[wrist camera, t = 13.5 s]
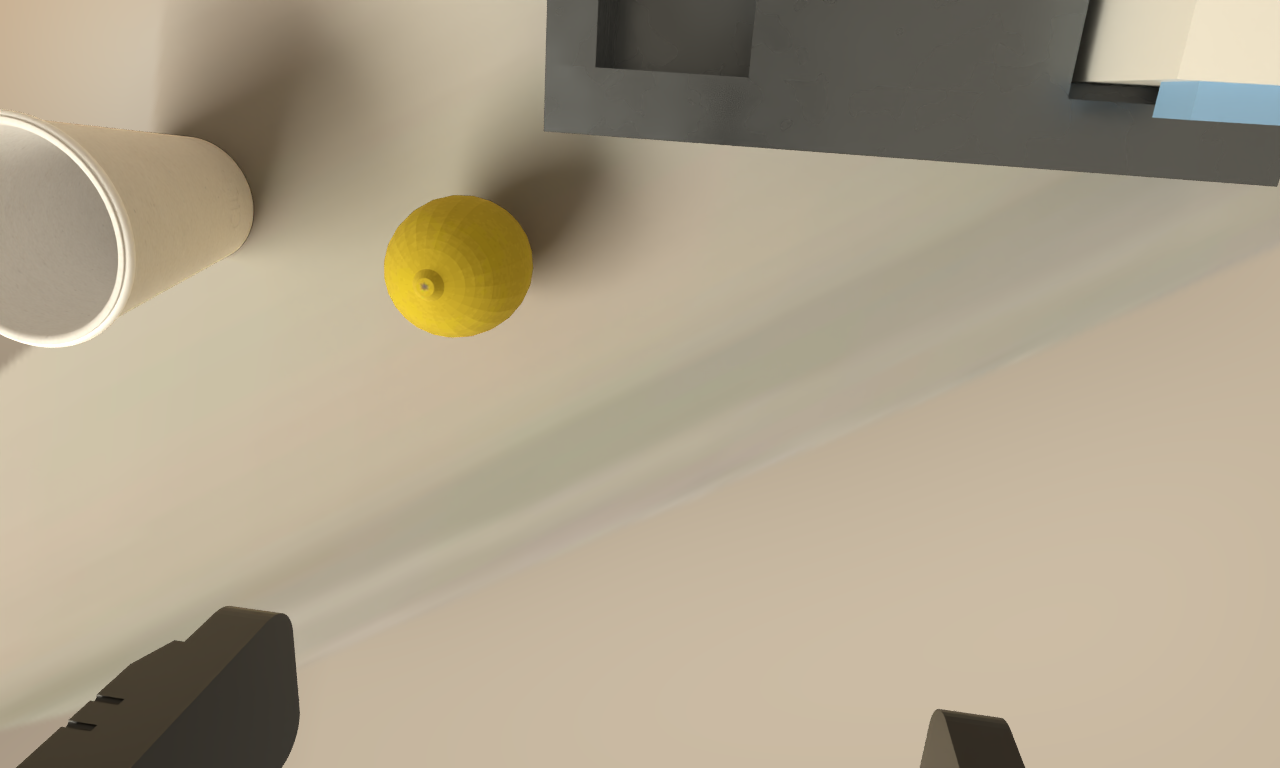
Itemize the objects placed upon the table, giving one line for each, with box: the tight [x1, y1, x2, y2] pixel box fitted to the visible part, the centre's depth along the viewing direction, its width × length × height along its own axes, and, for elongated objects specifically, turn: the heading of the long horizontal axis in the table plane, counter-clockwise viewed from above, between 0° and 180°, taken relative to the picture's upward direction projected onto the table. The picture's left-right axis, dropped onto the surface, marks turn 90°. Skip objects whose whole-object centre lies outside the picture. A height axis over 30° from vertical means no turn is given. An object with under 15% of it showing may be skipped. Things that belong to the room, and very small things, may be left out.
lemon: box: [384, 195, 533, 337], centre depth 34 cm, size 6×6×8 cm
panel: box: [544, 0, 1280, 187], centre depth 30 cm, size 10×25×5 cm, turn 86°
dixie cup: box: [0, 109, 253, 347], centre depth 34 cm, size 8×8×10 cm
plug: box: [1071, 0, 1280, 126], centre depth 26 cm, size 5×4×10 cm
